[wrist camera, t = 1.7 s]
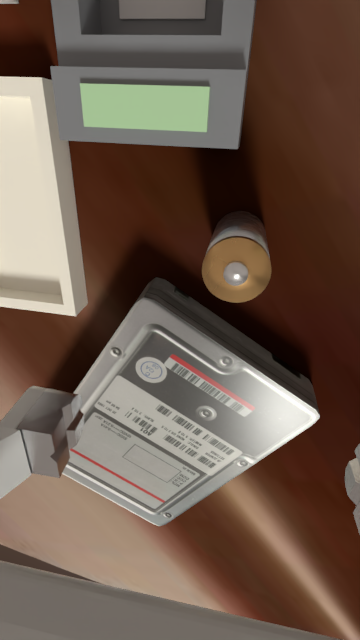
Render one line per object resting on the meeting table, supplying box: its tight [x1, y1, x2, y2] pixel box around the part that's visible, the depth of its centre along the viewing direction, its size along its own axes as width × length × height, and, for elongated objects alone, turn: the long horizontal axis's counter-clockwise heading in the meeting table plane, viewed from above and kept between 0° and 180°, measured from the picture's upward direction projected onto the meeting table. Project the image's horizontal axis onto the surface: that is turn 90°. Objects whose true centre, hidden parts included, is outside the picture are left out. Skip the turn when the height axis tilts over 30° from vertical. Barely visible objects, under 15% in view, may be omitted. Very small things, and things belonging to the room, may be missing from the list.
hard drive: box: [62, 277, 320, 526], centre depth 35 cm, size 18×27×4 cm
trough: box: [0, 77, 88, 316], centre depth 26 cm, size 10×17×2 cm, turn 178°
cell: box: [202, 211, 271, 303], centre depth 22 cm, size 4×4×8 cm
